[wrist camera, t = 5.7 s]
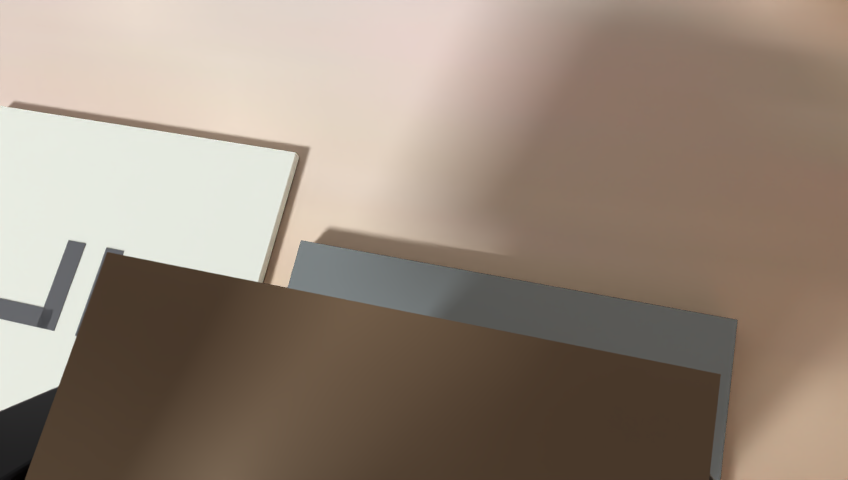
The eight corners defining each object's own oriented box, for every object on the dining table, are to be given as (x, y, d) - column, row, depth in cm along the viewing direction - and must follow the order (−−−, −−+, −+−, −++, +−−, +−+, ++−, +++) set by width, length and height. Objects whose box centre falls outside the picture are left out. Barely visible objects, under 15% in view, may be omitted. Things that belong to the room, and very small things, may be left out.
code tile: (194, 518, 16) (187, 519, 16) (-132, 430, 18) (-143, 430, 18) (299, 157, 19) (295, 152, 18) (2, 110, 21) (-6, 104, 20)
